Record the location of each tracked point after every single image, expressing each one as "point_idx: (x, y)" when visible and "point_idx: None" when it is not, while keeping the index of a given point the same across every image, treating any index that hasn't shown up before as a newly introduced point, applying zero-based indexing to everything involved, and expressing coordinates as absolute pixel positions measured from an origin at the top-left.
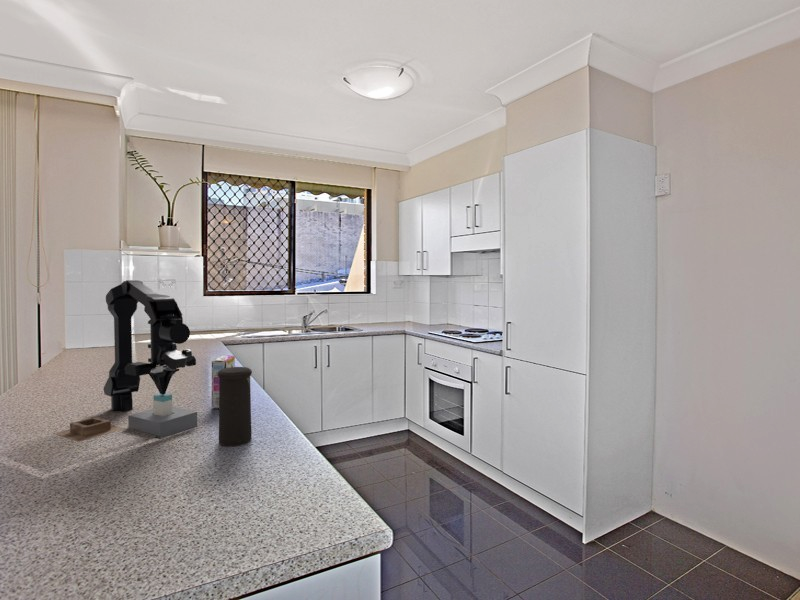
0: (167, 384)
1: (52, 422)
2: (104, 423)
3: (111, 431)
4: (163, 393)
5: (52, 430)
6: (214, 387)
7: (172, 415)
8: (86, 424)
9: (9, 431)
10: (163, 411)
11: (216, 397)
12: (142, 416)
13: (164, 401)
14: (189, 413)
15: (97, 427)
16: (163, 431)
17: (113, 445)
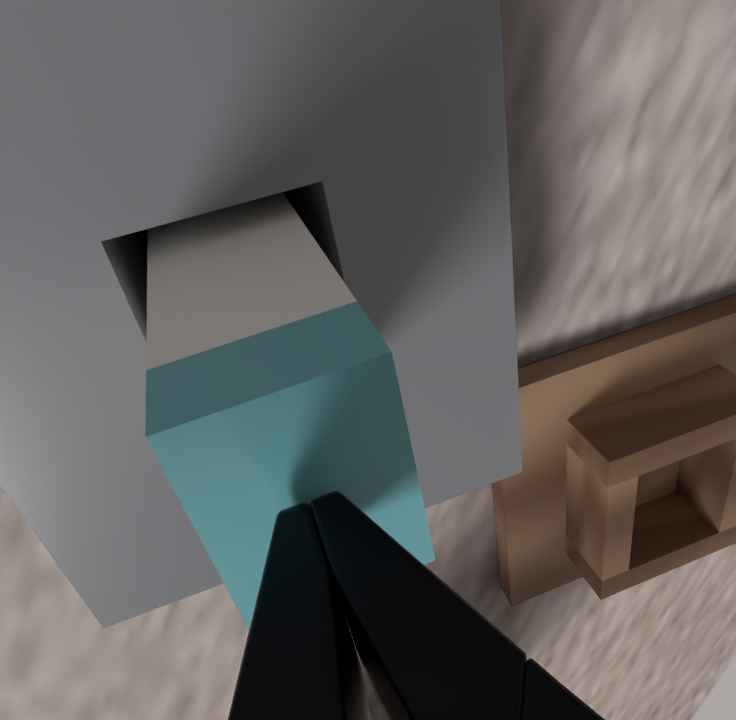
0: (271, 708)
1: (596, 704)
2: (648, 441)
3: (584, 378)
4: (323, 504)
5: (661, 602)
6: None
7: (185, 129)
8: (648, 532)
9: (731, 653)
10: (303, 239)
11: None
12: (468, 355)
13: (320, 314)
14: None
15: (682, 414)
16: None
17: (697, 93)
